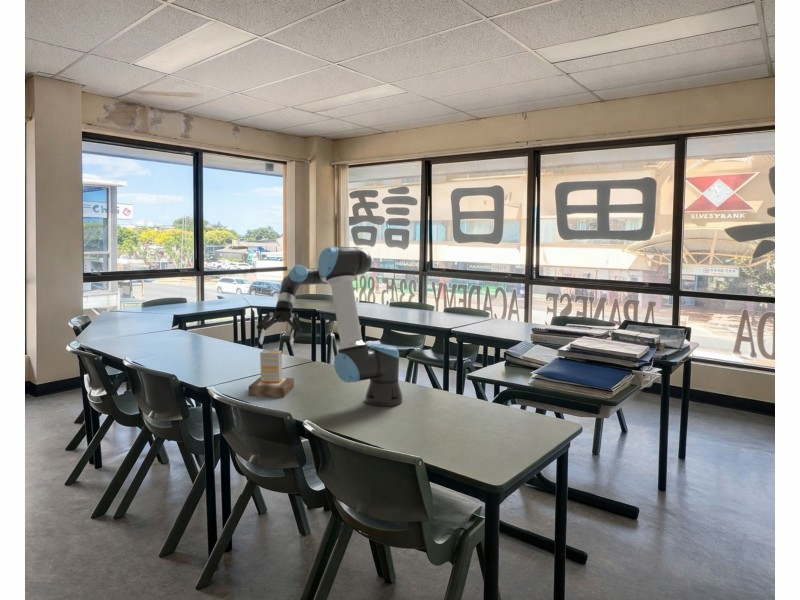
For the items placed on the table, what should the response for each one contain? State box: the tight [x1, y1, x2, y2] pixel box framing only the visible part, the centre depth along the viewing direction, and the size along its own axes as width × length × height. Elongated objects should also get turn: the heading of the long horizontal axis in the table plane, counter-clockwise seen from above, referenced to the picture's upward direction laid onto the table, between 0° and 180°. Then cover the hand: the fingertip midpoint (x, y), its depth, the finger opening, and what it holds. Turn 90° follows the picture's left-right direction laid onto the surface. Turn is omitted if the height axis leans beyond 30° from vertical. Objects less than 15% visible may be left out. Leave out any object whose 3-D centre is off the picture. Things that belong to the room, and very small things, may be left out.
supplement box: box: [259, 349, 283, 383], centre depth 228 cm, size 8×5×13 cm, turn 85°
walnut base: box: [248, 376, 295, 398], centre depth 229 cm, size 15×15×4 cm
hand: (275, 343), depth 234 cm, fingers open, 13 cm apart
